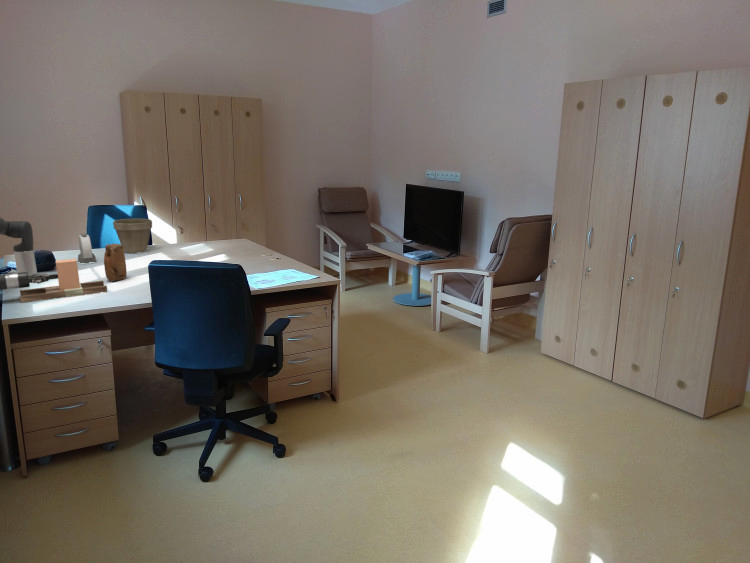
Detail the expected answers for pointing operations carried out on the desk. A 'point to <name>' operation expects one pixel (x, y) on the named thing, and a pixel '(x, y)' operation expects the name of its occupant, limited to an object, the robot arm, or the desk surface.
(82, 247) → the grey piece
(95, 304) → the desk surface
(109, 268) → the block
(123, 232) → the plant pot
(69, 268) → the block
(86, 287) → the track
